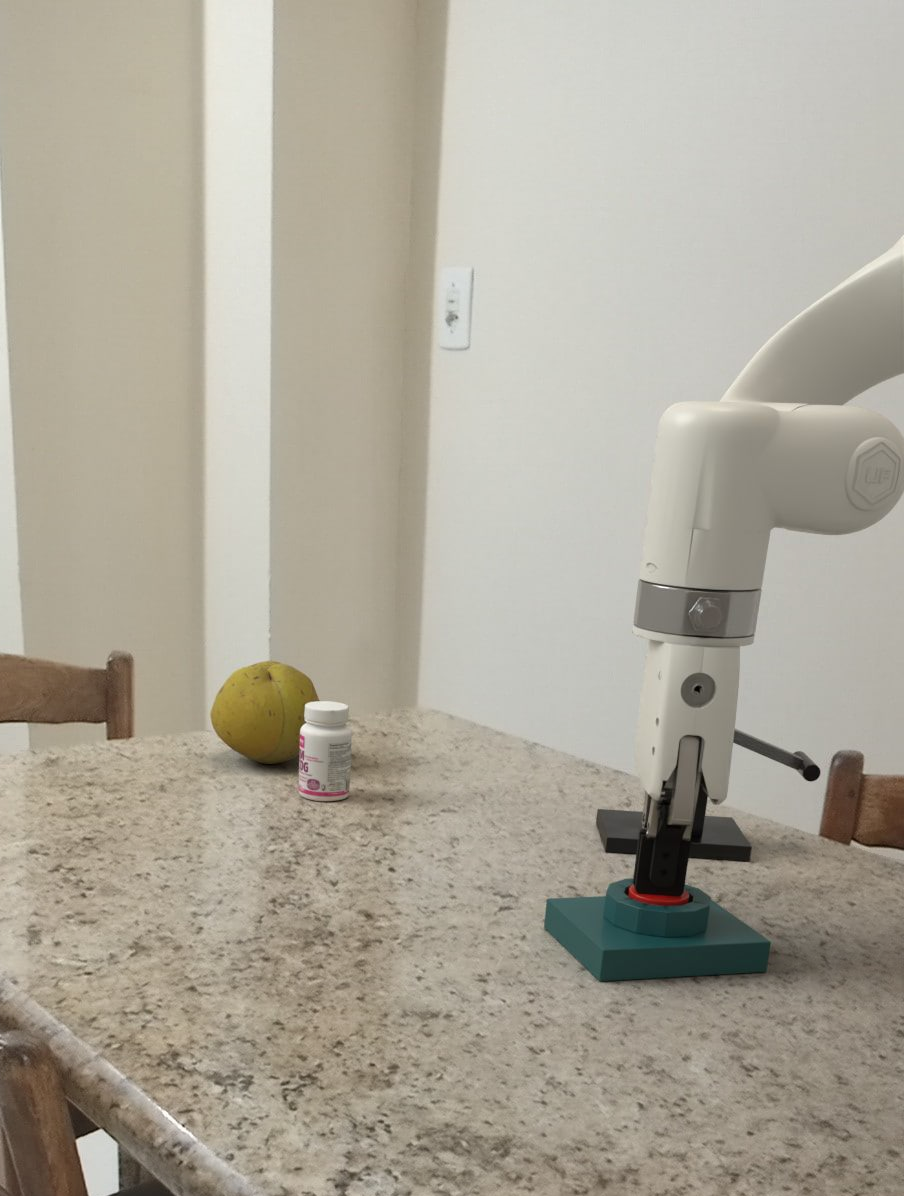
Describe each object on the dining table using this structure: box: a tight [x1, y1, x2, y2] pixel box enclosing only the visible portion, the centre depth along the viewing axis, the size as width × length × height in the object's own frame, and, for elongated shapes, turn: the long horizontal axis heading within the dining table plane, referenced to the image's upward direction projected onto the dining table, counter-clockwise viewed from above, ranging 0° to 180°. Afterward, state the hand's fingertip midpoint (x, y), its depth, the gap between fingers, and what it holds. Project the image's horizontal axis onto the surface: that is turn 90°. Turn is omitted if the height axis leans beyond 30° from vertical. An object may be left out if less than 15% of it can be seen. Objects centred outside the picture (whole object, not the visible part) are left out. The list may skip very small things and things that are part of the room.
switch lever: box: [733, 728, 821, 782], centre depth 115 cm, size 13×5×2 cm, turn 86°
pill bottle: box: [297, 700, 353, 802], centre depth 126 cm, size 5×5×8 cm
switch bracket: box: [595, 785, 753, 862], centre depth 117 cm, size 12×9×13 cm
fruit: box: [210, 660, 320, 765], centre depth 137 cm, size 11×12×10 cm
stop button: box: [628, 885, 689, 906], centre depth 93 cm, size 4×4×2 cm
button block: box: [543, 877, 772, 982], centre depth 94 cm, size 12×10×4 cm
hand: (657, 890), depth 93 cm, fingers closed
